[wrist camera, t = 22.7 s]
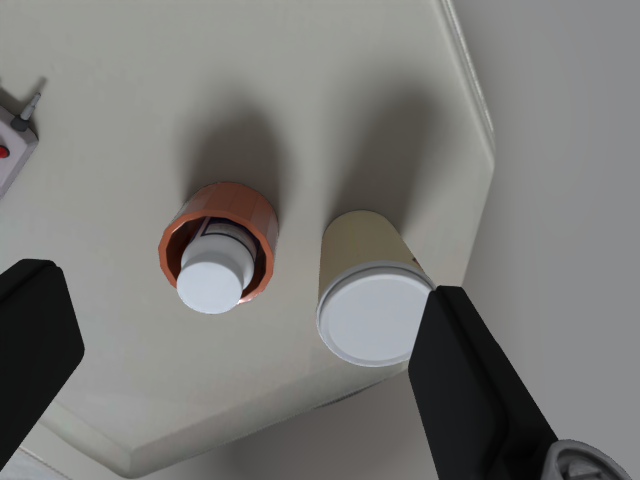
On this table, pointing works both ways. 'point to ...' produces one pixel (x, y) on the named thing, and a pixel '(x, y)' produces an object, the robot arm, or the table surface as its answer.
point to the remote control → (15, 143)
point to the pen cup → (235, 206)
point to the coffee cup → (369, 291)
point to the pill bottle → (217, 265)
